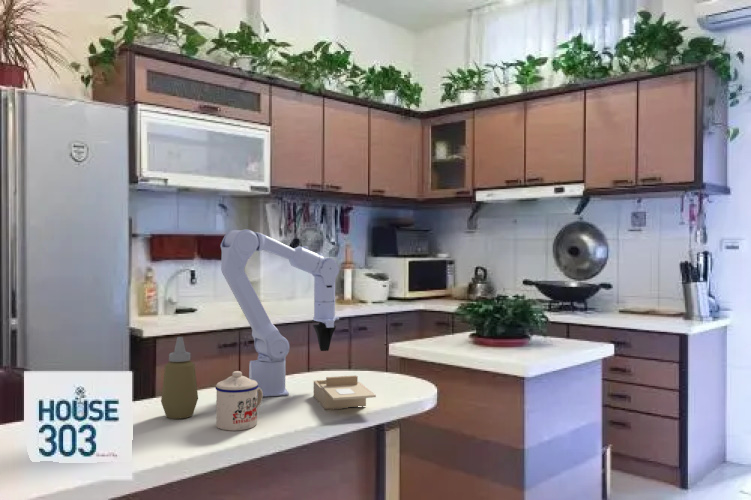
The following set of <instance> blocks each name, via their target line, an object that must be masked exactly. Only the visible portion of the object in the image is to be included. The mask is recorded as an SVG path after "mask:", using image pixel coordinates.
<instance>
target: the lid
mask: <svg viewBox="0 0 751 500" xmlns="http://www.w3.org/2000/svg"><path fill="white" fill-rule="evenodd" d="M325 380H326V384H320V387H321V388H322V389H323V390H324V391H325V392H326V393H327V394H328V395H329V396H330V397H331V398H332V399H333V400H343V399H358V398H366V399H370V398H377V395H376V394H375V393H374V392H372V390H370V389H369V388H368V387H366V386H365V385H364V384H362V383H361V382H360V381H359V380H358V376H357V375H340V376H339V375H337V376H327V377H326V378H325Z"/></svg>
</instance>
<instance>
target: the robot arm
mask: <svg viewBox="0 0 751 500" xmlns="http://www.w3.org/2000/svg"><path fill="white" fill-rule="evenodd" d="M220 249H221V261H220V262H221V264H220V267H221V268H220V270H221V274H222V275H223V278H224V279H225V280H226V282H227V284H228V286H229V288H230V290H231V292H232V294H233V296H234V299H236V303H237V304H238V305H239V307H240V310H241V311H242V313H243V315H244V317H245V319H246V321H247V322H248V325H249V326H250V327H251V331H252V332H251V336H252V339H253V341H254V344H253V345H254V346H253V347H254V349H255V351H256V352H257V353H258V356H257V359H256V360H255V359H254V360H249V367H248V368H249V369H248V370H249V371H248V378H249V379H251V380H255V381H256V382H257V383H258V387H259V388H260V389H261V390H262V392H263V397H278V396H280V397H281V396H289V395H290V393H289V391H288V390H287V389H286V358H287V356H288V354H289V352H290V346H291V345H290V342H289V340H288V339H287V338H286V337H284V336H283V335H282V334H281V333H280V331H279V329H278V328H277V327H276V326H275V325H274V324H273V322H272V321H271V319H270V318H269V316H268V313H267V312H266V310H265V308H264V305H263V304H262V302H261V300H260V298H259V296H258V294H257V292H256V291H255V289H254V287H253V285H252V283H251V281H250V278H249V277H248V275H247V273H246V271H245V268H246V265H247V263H248V261H249V259H250V258H251V257H252V256H253V255H254V253H255V252H257V251H258V252H259V251H260V252H262V251H265V252H267V253H270V254H272V255H276V256H279V257H281V258H284V259H287V260H288V262H289V264H290V265H291V266H292V267H294V268H296V269H298V270H301V271H303V272H306V273H308V274H311V275H312V276H313V278H314V281H313V282H314V285H313V286H314V287H313V291H314V293H313V294H314V295H313V296H314V298H313V300H314V301H313V306H314V307H313V321H316V322H318V324H313V326H312V327H313V328H314V331H315V334H316V337H317V340H318V348H319V351H320V352H328V351H329V350H330V347H331V340H332V337H333V334H334V332H335V330H336V329H337V326H336V325H335V321H337V320H340V317H339V316H337V315H336V279H337V277H338V275H339V273H340V267H339V266H338V263H337V262H336V259H333V258H330V257H324V254H323V253H320V252H318V253H316V252H314V251H312V250H310V249H309V246H307V245H302V246H296V247H294V248H293V247H291V246H290V245H286V244H284V243H282V242H281V241H279V240H276V239H274V238H272V237H270V236H267V235H266V234H263V233H261V232H258V231H257V232H256V231H253V230H251V229H242V230H238V229H231V230H229V231H227V232H226V233H225V235H224V237H223V238H222V241H221V243H220ZM257 398H258V392H257Z"/></svg>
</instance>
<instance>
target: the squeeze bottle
mask: <svg viewBox="0 0 751 500" xmlns="http://www.w3.org/2000/svg"><path fill="white" fill-rule="evenodd" d="M191 354H192V353H191V352H190V351H186V346H185V341H184V337H183V336H177V338H176V342H175V346H174V351H173V352H170V353H169V354H168V361H169V362H167V363H166V364H165V365H164V370H163V371H164V372H163V378H162V391H161V398H160V399H161V400H160V402H161V405H162V408H163V412H164V415H165V417H166V418H168V419H176V420H177V419H178V420H179V419H181V420H182V419H187V418H190V417H192V416H194V413H195V411H196V406H197V405H198V400H199V395H198V384H197V374H196V365H195V363H194V362H193V361H190V360H191Z"/></svg>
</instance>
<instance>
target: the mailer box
mask: <svg viewBox="0 0 751 500" xmlns="http://www.w3.org/2000/svg"><path fill="white" fill-rule="evenodd" d="M320 384H326V379H321V380H313V398H315V400H316V401H317V402H318V403H319V404H320V405H321V407H322V408H323V409H324V410H325V411H331V410H343V409H342V408H347V409H349V408H348V407H358V406H366V407H367V398H358V399H343V400H333V399H332V398H331V397H330V396H329V395H328V394H327V393H326V392H325V391H324V390H323V389H322V388H321V387H320Z"/></svg>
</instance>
